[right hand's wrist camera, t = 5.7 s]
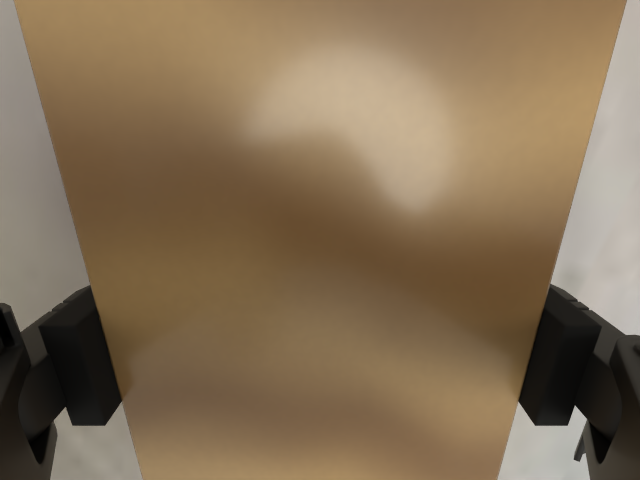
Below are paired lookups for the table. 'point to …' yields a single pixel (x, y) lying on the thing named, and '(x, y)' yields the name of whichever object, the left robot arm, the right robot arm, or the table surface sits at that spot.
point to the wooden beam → (320, 218)
